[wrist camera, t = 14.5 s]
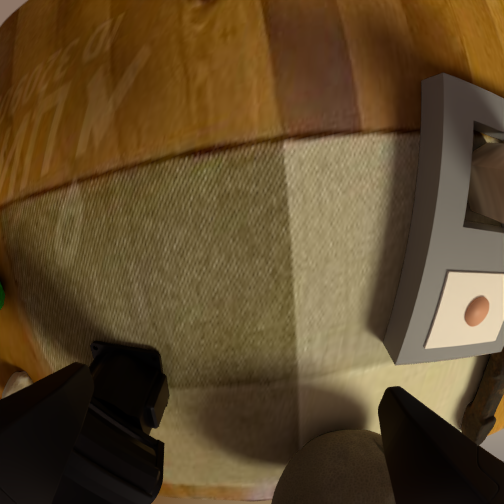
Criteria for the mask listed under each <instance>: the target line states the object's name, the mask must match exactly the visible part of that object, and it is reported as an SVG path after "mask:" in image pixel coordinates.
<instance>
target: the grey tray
mask: <svg viewBox="0 0 504 504" xmlns="http://www.w3.org/2000/svg"><path fill="white" fill-rule="evenodd" d="M421 90H422V100H421V134H420V150H419V163H418V173H417V183H416V191H415V199H414V206H413V213H412V220H411V226H410V232H409V238H408V243H407V249H406V254H405V259H404V263H403V268H402V273H401V277H400V282H399V286H398V290H397V294H396V298H395V302H394V306H393V310H392V313H391V317H390V321H389V324H388V328H387V331H386V335H385V338H384V341H383V344H384V346H385V347H386V349H387V351H388V353H389V355H390V357H391V358H392V360H393V362H394V364H395V365H406V364H417V363H427V362H437V361H445V360H453V359H460V358H467V357H473V356H480V355H486V354H491V353H497V352H501V351H502V349H503V347H504V224H503V223H501V227H500V226H495V225H489V224H483V223H477V222H471V221H464V218H465V212H466V205H467V198H468V191H469V183H470V173H471V162H472V148H473V130H475V131H478V132H481V133H483V134H486V135H489V136H491V137H494V138H497V139H499V140H502V141H504V98H502V97H500V96H498V95H496V94H493V93H491V92H489V91H487V90H485V89H483V88H480V87H478V86H476V85H474V84H471V83H469V82H466V81H464V80H461V79H459V78H456V77H454V76H451V75H448V74H446V73H441V74H438V75H435V76H432V77H430V78H427V79H424V80H422V81H421Z"/></svg>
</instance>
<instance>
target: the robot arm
mask: <svg viewBox="0 0 504 504" xmlns="http://www.w3.org/2000/svg"><path fill="white" fill-rule="evenodd" d="M90 347H91V351H92V354H93V358H94V360H93V362H92V363H91V364H90V366H89V367H88V366H87V365H86V364H83V363H79V362H74V363H72V364H70V365H68V366H66V367H64V368H62V369H60V370H58V371H57V372H55V373H53V374H51V375H49V376H47V377H45V378H43V379H41V380H39V381H37V382H35V383H33V384H31V385H29V386H27V387H25V388H23V389H21V390H19V391H17V392H15V393H13V394H11V395H9V396H7V397H4V398H2V399H0V504H151V503H152V502H153V501H154V499H155V498H156V497H157V495H158V493H159V491H160V488H161V485H162V482H163V463H164V443H163V442H162V441H160V440H156V439H154V438H153V437H151V436H149V434H150V431H151V429H152V428H155V429H156V428H158V427H159V424H160V422H161V419H162V416H163V413H164V410H165V407H166V406H167V404H168V398H169V389H168V383H167V377H166V375H165V374H163V368H162V361H161V355H160V354H159V353H158V352H157V351H153V350H146V349H140V348H134V347H128V346H122V345H116V344H111V343H105V342H100V341H93V342H92V343H91V345H90ZM153 356H155V357H156V358H154V357H153ZM378 416H379V422H380V429H381V436H382V444H383V451H384V456H385V460H386V464H387V468H388V473H389V477H390V481H391V485H392V490H393V494H394V499H395V503H396V504H504V462H503V461H501V460H499V459H498V458H496V457H495V456H493V455H492V454H490V453H489V452H487V451H486V450H485V449H483V448H482V447H481V446H479V445H477V444H476V443H475V442H474V441H472V440H471V439H470V438H468V437H467V436H465V435H464V434H463V433H461V432H460V431H459V430H457V429H456V428H455V427H453V426H452V425H451V424H449V423H448V422H447V421H445V420H444V419H443V418H441V417H440V416H439V415H437V414H436V413H435V412H433V411H432V410H431V409H429V408H428V407H427V406H425V405H424V404H423V403H421V402H420V401H419V400H417V399H416V398H415V397H413V396H412V395H411V394H409V393H408V392H407V391H406V390H404V389H403V388H401V387H400V386H395V387H388V388H387V389H386V390H385V392H384V395H383V397H382V399H381V402H380V404H379V407H378Z"/></svg>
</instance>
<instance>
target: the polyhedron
mask: <svg viewBox="0 0 504 504" xmlns="http://www.w3.org/2000/svg"><path fill="white" fill-rule="evenodd" d="M4 298H5V293H4V290H3V288H2V285H1V282H0V310H1V308H2V307H3V305H4Z"/></svg>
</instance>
